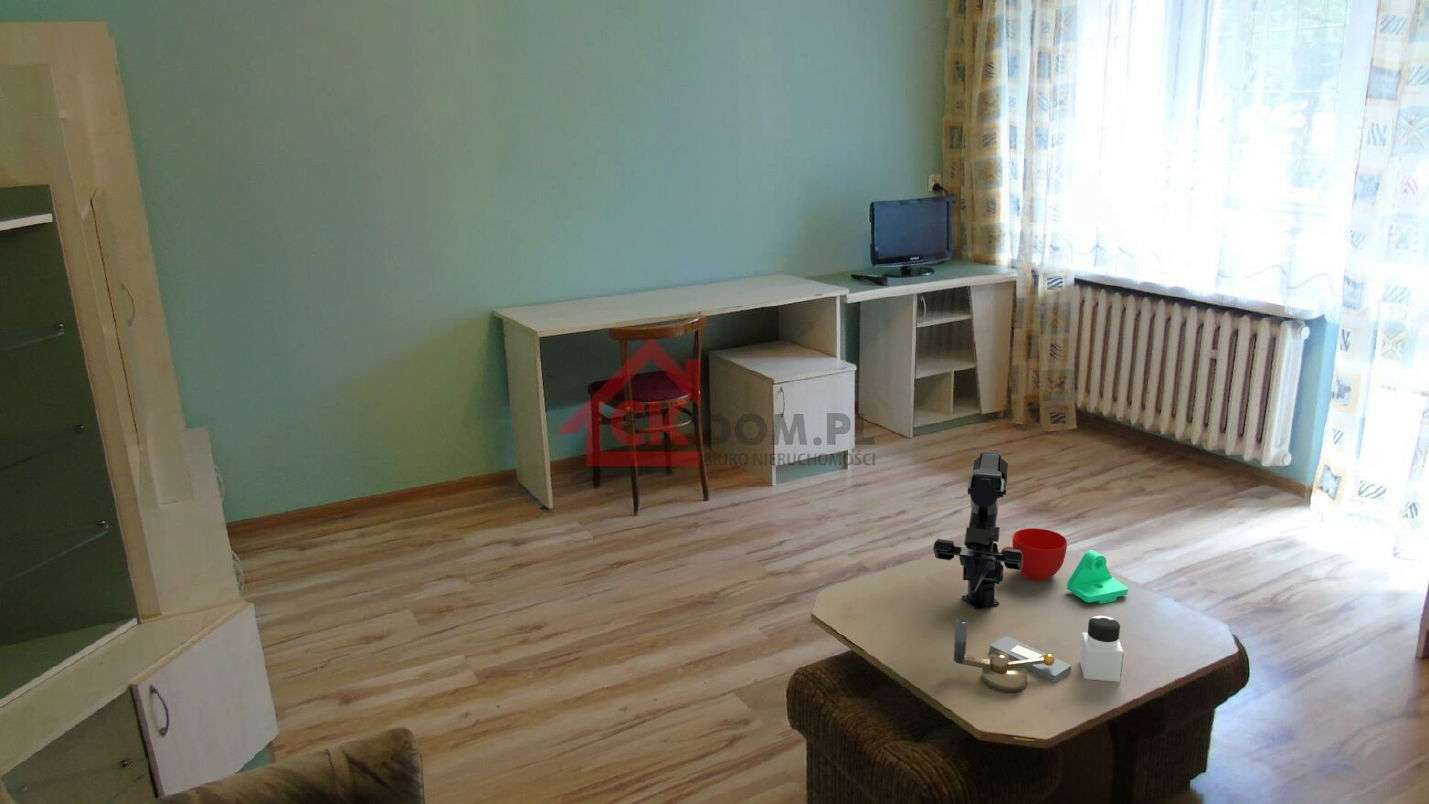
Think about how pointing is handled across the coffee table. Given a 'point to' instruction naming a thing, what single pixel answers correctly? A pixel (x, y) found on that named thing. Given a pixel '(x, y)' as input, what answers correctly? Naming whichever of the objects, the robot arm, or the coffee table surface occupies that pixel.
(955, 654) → the crank handle
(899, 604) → the coffee table surface
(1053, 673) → the plate
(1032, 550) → the ceramic cup
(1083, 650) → the medicine bottle
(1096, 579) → the camera mount
